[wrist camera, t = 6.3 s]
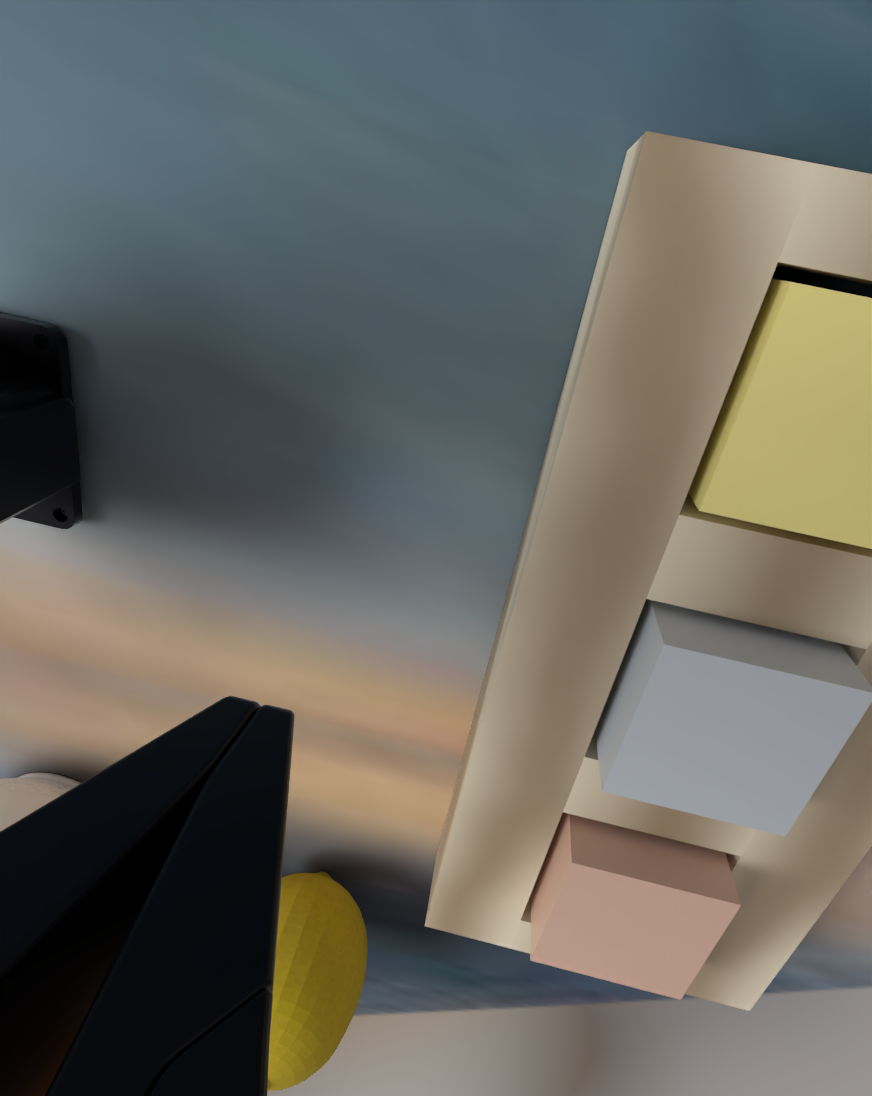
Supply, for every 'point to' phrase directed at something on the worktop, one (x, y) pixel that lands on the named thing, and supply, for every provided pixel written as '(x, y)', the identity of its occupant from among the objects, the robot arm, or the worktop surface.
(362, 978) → the lemon
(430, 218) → the worktop surface
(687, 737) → the grey button
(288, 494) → the worktop surface
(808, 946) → the worktop surface
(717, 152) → the button board
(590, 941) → the clay button
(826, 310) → the yellow button
